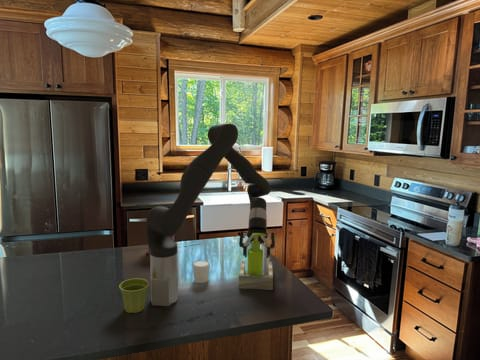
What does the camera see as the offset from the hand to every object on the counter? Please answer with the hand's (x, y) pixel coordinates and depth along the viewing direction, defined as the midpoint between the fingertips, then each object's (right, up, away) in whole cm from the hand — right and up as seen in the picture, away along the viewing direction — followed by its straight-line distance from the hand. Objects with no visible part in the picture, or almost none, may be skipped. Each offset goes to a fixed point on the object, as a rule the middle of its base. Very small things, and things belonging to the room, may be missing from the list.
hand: (256, 257), depth 131 cm
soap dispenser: (0, -11, +3) cm, 11 cm away
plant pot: (-42, -13, -19) cm, 48 cm away
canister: (-45, -5, +33) cm, 56 cm away
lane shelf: (0, -10, +5) cm, 11 cm away
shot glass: (-22, -10, +4) cm, 25 cm away
